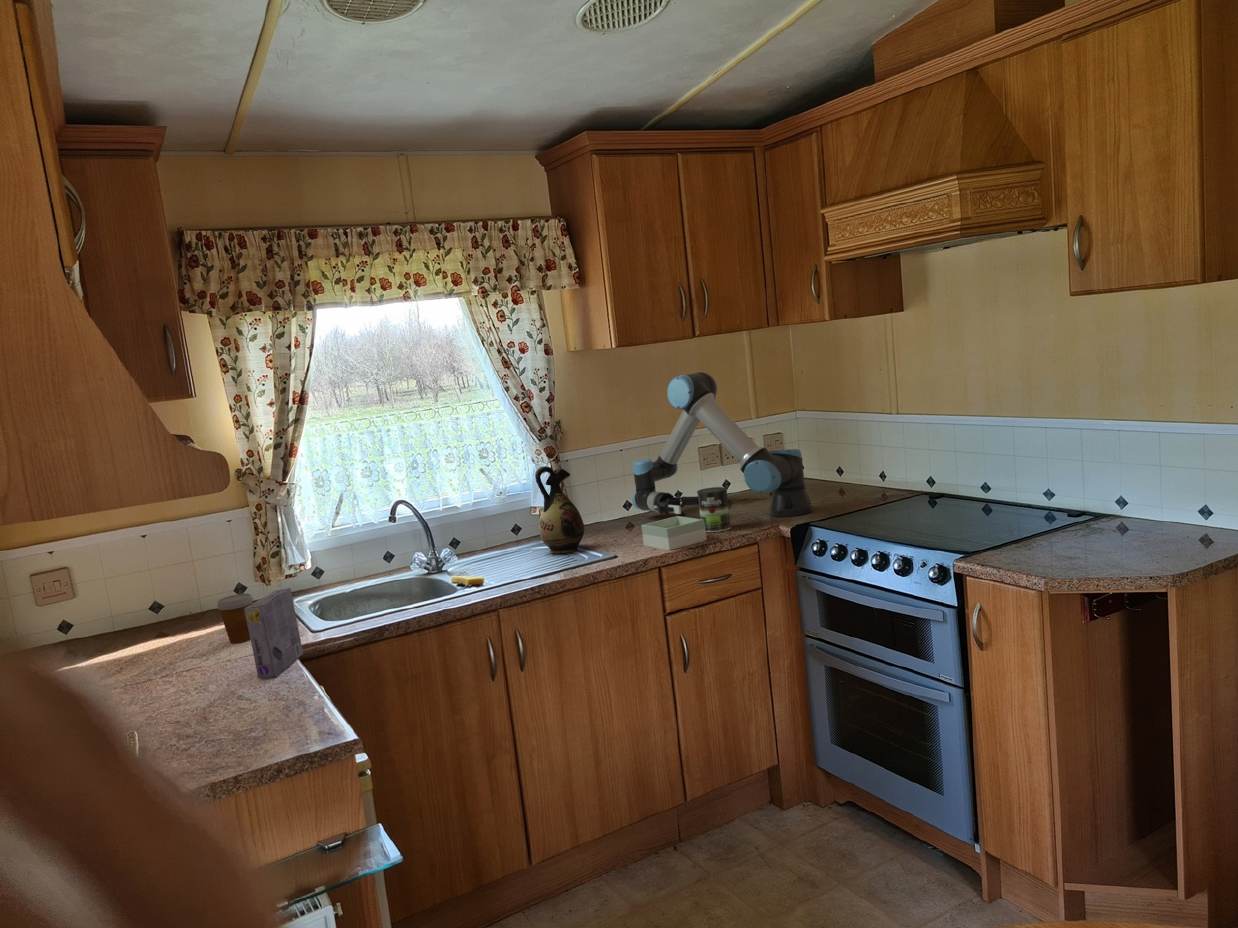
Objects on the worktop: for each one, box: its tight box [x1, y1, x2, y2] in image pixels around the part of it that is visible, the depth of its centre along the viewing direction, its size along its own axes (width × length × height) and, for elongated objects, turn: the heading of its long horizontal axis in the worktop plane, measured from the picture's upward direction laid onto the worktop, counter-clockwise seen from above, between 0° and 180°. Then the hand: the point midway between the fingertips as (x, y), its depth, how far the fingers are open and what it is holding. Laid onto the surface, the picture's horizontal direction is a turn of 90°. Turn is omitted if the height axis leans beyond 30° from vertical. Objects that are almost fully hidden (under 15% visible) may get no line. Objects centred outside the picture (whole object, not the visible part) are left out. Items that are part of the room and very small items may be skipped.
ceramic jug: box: [534, 465, 585, 554], centre depth 324 cm, size 17×15×30 cm
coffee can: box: [696, 486, 732, 533], centre depth 327 cm, size 10×10×14 cm
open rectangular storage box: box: [640, 515, 707, 551], centre depth 315 cm, size 15×15×7 cm
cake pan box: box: [244, 587, 304, 680], centre depth 231 cm, size 19×5×18 cm, turn 178°
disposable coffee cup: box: [216, 593, 254, 644], centre depth 262 cm, size 10×10×12 cm
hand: (695, 506), depth 336 cm, fingers open, 13 cm apart
